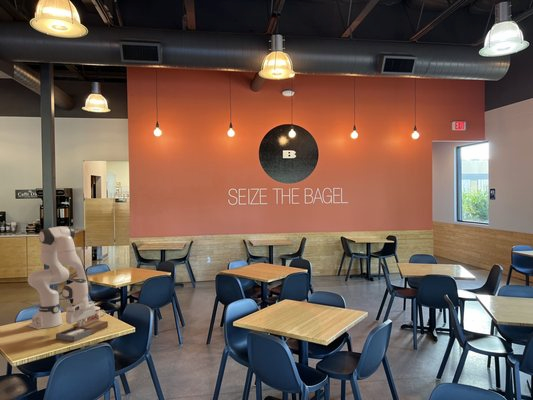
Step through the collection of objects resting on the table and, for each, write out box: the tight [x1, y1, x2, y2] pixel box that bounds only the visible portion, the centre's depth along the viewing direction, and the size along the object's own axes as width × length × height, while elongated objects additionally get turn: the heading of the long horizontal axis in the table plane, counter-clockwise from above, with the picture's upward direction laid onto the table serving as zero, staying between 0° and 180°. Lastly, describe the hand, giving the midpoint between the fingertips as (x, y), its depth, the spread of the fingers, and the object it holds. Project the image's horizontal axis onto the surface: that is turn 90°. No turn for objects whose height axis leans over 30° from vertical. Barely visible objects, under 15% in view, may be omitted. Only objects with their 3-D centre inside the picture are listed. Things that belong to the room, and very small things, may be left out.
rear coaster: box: [73, 329, 85, 334], centre depth 237 cm, size 5×5×2 cm
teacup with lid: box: [86, 304, 106, 321], centre depth 264 cm, size 12×9×12 cm
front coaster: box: [66, 331, 78, 336], centre depth 232 cm, size 5×5×2 cm
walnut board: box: [73, 320, 109, 336], centre depth 246 cm, size 15×14×4 cm
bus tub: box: [55, 326, 91, 343], centre depth 233 cm, size 15×13×4 cm
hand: (81, 326), depth 239 cm, fingers closed
